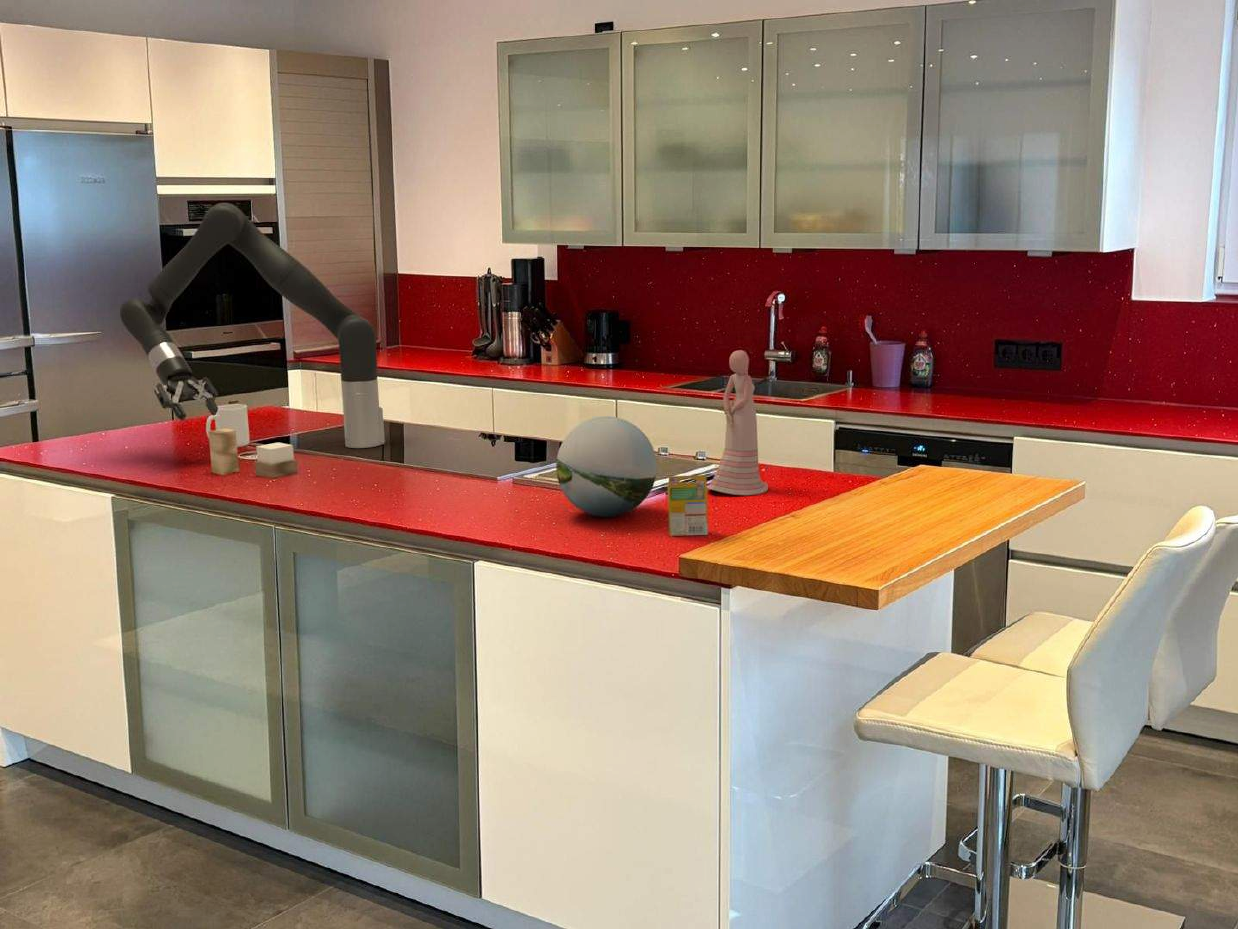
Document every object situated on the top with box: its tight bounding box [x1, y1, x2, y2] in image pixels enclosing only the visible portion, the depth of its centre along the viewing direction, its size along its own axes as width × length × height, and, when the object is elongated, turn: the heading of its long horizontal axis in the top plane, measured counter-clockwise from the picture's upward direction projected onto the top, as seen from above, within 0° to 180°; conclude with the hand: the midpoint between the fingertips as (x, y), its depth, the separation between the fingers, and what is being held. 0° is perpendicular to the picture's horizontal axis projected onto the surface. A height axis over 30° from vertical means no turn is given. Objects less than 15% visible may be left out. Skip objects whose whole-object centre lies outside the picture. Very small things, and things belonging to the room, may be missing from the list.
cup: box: [205, 403, 251, 448], centre depth 355 cm, size 8×12×10 cm
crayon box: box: [667, 474, 709, 538], centre depth 254 cm, size 7×3×12 cm, turn 92°
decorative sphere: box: [555, 416, 658, 518], centre depth 269 cm, size 20×20×20 cm
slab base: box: [253, 459, 299, 479], centre depth 319 cm, size 7×7×4 cm
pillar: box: [208, 429, 240, 476], centre depth 322 cm, size 4×4×10 cm
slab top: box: [256, 442, 295, 464], centre depth 318 cm, size 6×6×4 cm
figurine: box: [707, 349, 769, 496], centre depth 287 cm, size 13×13×30 cm
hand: (199, 415), depth 326 cm, fingers open, 8 cm apart
